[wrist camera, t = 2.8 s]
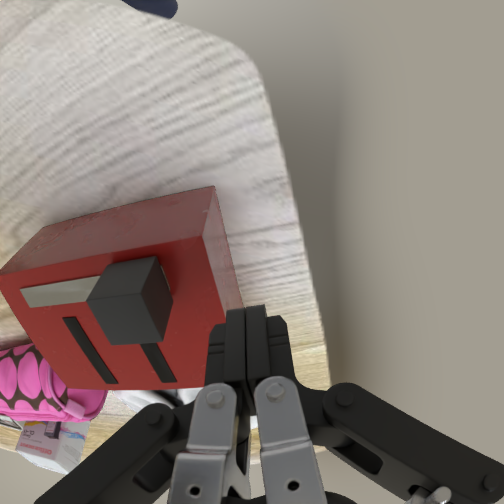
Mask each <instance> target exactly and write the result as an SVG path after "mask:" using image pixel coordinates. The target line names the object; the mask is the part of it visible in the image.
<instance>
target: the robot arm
mask: <svg viewBox="0 0 504 504" xmlns="http://www.w3.org/2000/svg"><path fill="white" fill-rule="evenodd" d="M207 353H208V355H207V362H206V372H205V382H204V388H202V389H201V390H200V391H199V392H198V394H197V396H196V398H195V400H194V401H192V402H190V403H188V404H185V405H182V406H179V407H176V408H173V409H171V408H170V407H169V406H168V405H166V404H163V403H152V404H149V405H147V406H145V407H144V408H142V409H141V410H140V411H139V412H138V413H137V414H136V415H135V416H134V417H132V418H131V419H130V420H129V421H128V422H127V423H126V424H125V425H124V426H122V427H121V428H120V429H119V430H118V431H117V432H116V433H115V434H113V435H112V436H111V437H110V438H109V439H108V440H107V441H105V442H104V443H103V444H102V445H101V446H100V447H99V448H97V449H96V450H95V451H94V452H93V453H92V454H91V455H89V456H88V457H87V458H86V459H85V460H84V461H82V462H81V463H80V464H79V465H78V466H77V467H75V468H74V469H73V470H72V471H71V472H69V473H68V474H67V475H66V476H65V477H63V478H62V479H61V480H60V481H59V482H57V484H55V485H54V486H53V487H51V488H50V489H49V490H48V491H47V492H45V493H44V494H43V495H42V496H40V497H39V498H38V499H37V500H36V501H35V502H34V504H153V503H154V502H155V501H156V500H157V499H158V498H159V497H160V496H161V495H162V494H163V493H164V492H165V491H166V490H167V489H169V488H170V489H169V494H168V500H167V504H357V503H355V502H354V501H353V500H351V499H349V498H347V497H345V496H342V495H340V494H337V493H333V492H327V491H324V487H323V483H322V479H321V475H320V471H319V467H318V463H317V459H316V455H315V451H314V447H313V445H318V446H325V447H326V449H328V450H329V451H330V452H332V453H333V454H334V455H336V456H337V457H339V458H340V459H341V460H343V461H345V462H346V463H347V464H348V465H350V466H351V467H353V468H354V469H356V470H357V471H359V472H360V473H362V474H363V475H365V476H366V477H368V478H369V479H371V480H372V481H374V482H375V483H377V484H379V485H380V486H382V487H383V488H385V489H387V490H388V491H390V492H391V493H393V494H395V495H396V496H398V497H399V498H401V499H403V500H404V501H406V502H405V504H494V503H495V502H497V501H499V499H501V498H502V497H503V496H504V465H503V464H501V463H499V462H498V461H495V460H493V459H491V458H489V457H487V456H485V455H483V454H481V453H479V452H477V451H475V450H473V449H471V448H469V447H467V446H465V445H463V444H461V443H459V442H458V441H456V440H454V439H452V438H450V437H448V436H446V435H444V434H442V433H440V432H439V431H437V430H435V429H433V428H431V427H429V426H428V425H426V424H424V423H422V422H420V421H419V420H417V419H415V418H413V417H411V416H410V415H408V414H406V413H404V412H403V411H401V410H399V409H397V408H396V407H394V406H392V405H390V404H389V403H387V402H385V401H383V400H381V399H380V398H378V397H376V396H375V395H373V394H372V393H370V392H368V391H366V390H365V389H363V388H361V387H360V386H358V385H356V384H353V383H339V384H336V385H334V386H332V387H330V388H329V389H328V390H327V391H324V390H314V389H310V388H307V387H305V386H303V385H302V384H300V383H299V382H298V380H297V379H296V377H295V373H294V367H293V360H292V354H291V348H290V342H289V336H288V329H287V323H286V322H285V321H284V320H283V319H282V317H281V316H280V315H277V316H271V317H267V313H266V308H265V304H263V305H256V306H250V307H246V308H245V307H243V308H237V309H229V310H227V311H226V323H222V324H215V326H214V327H213V329H212V331H211V332H210V334H209V342H208V352H207ZM250 416H257V423H258V430H259V437H260V445H261V449H260V460H261V467H262V474H263V481H264V487H265V495H263V496H260V497H257V498H253V499H251V488H250V482H249V468H250V452H251V430H250V429H251V424H250Z"/></svg>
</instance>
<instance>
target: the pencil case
mask: <svg viewBox="0 0 504 504" xmlns="http://www.w3.org/2000/svg"><path fill="white" fill-rule="evenodd" d="M107 393H108V390H88V389H69V388H67V387H66V385H65V384H64V383H63V382H62V380H61V379H60V378H59V377H58V375H57V374H56V373H55V372H54V370H53V369H52V368H51V366H50V365H49V364H48V362H47V361H46V360H45V358H44V357H43V356H42V354H41V353H40V352H39V350H38V349H37V347H36V346H35V345H34V343H31V344H27V345H22V346H18V347H12V348H10V349H8V350H4V351H0V419H2V420H6V421H11V422H13V420H15V421H25V420H30V421H61V422H75V423H80V422H86V421H90V420H92V419H94V418H95V417H96V416H97V415H98V414H99V412H100V411H101V409H102V407H103V405H104V402H105V399H106V397H107Z"/></svg>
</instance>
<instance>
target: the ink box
mask: <svg viewBox="0 0 504 504" xmlns="http://www.w3.org/2000/svg"><path fill="white" fill-rule="evenodd" d="M90 422H91V420H90V421H86V422H80V423H75V422H61V421H30V420H26V422H25V424H24V427H23V430H22V432H21V435H20V438H19V441H18V443H17V446H16V449H15V450H16V451H17V452H18V453H20V454H21V455H22V456H23V457H25V458H26V459H27V460H29V461H30V462H32V463H33V464H35V465H36V466H38V467H41V468H45V469H48V470H52V471H55V472H59V473H62V474H66V475H67V474H68V473H69V472H71V471H72V470H73V469H74V468H75V467H77V466H78V465H79V463H80V459H81V455H82V451H83V447H84V444H85V440H86V436H87V433H88V429H89V426H90Z"/></svg>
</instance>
